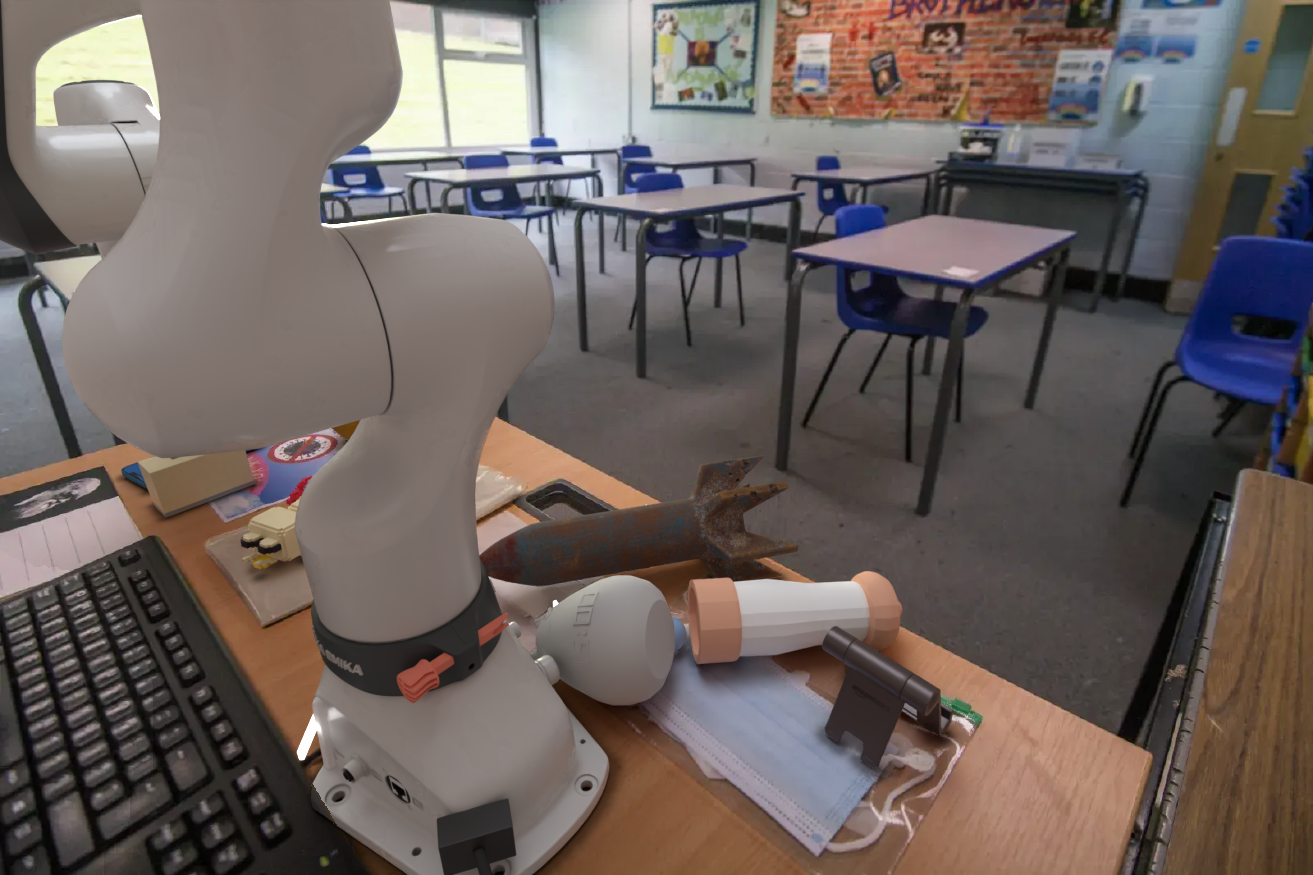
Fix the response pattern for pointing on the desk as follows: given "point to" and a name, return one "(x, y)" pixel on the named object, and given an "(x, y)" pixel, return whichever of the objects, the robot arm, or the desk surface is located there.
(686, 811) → the desk surface
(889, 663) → the tablet stand
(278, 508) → the blocky cream chicken toy
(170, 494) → the block
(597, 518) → the rusty missile
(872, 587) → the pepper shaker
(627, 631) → the grey space capsule
